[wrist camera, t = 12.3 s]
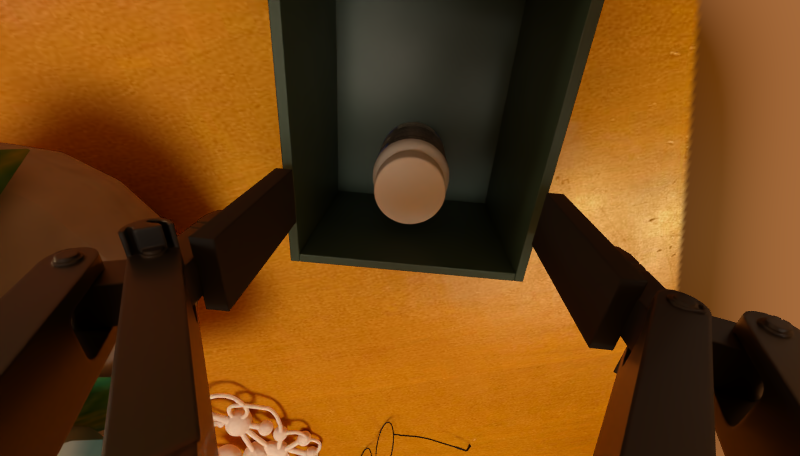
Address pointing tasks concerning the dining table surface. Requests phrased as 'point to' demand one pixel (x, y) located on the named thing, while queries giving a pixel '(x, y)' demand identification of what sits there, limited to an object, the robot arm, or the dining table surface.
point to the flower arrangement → (63, 241)
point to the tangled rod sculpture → (259, 451)
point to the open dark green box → (426, 122)
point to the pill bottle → (411, 174)
